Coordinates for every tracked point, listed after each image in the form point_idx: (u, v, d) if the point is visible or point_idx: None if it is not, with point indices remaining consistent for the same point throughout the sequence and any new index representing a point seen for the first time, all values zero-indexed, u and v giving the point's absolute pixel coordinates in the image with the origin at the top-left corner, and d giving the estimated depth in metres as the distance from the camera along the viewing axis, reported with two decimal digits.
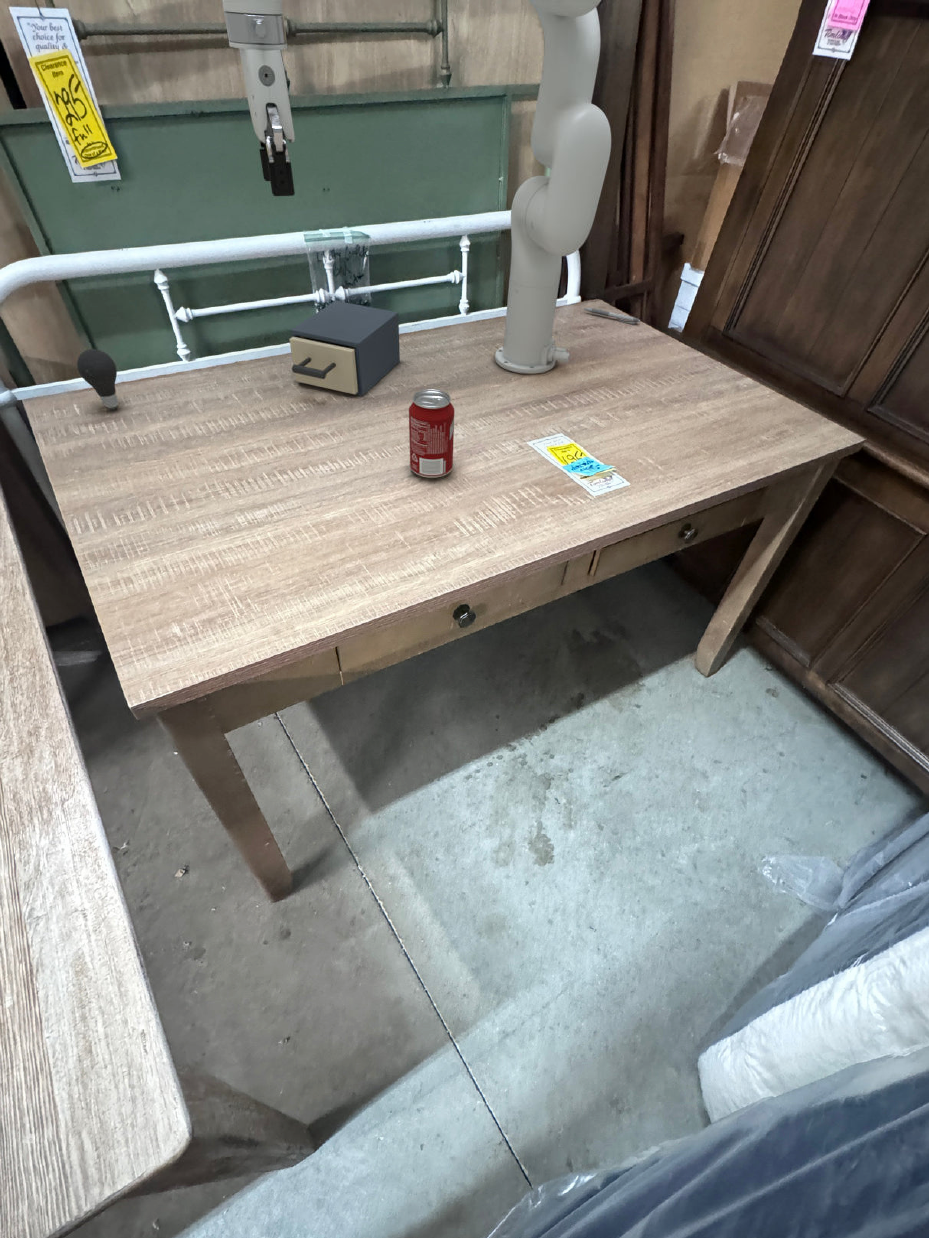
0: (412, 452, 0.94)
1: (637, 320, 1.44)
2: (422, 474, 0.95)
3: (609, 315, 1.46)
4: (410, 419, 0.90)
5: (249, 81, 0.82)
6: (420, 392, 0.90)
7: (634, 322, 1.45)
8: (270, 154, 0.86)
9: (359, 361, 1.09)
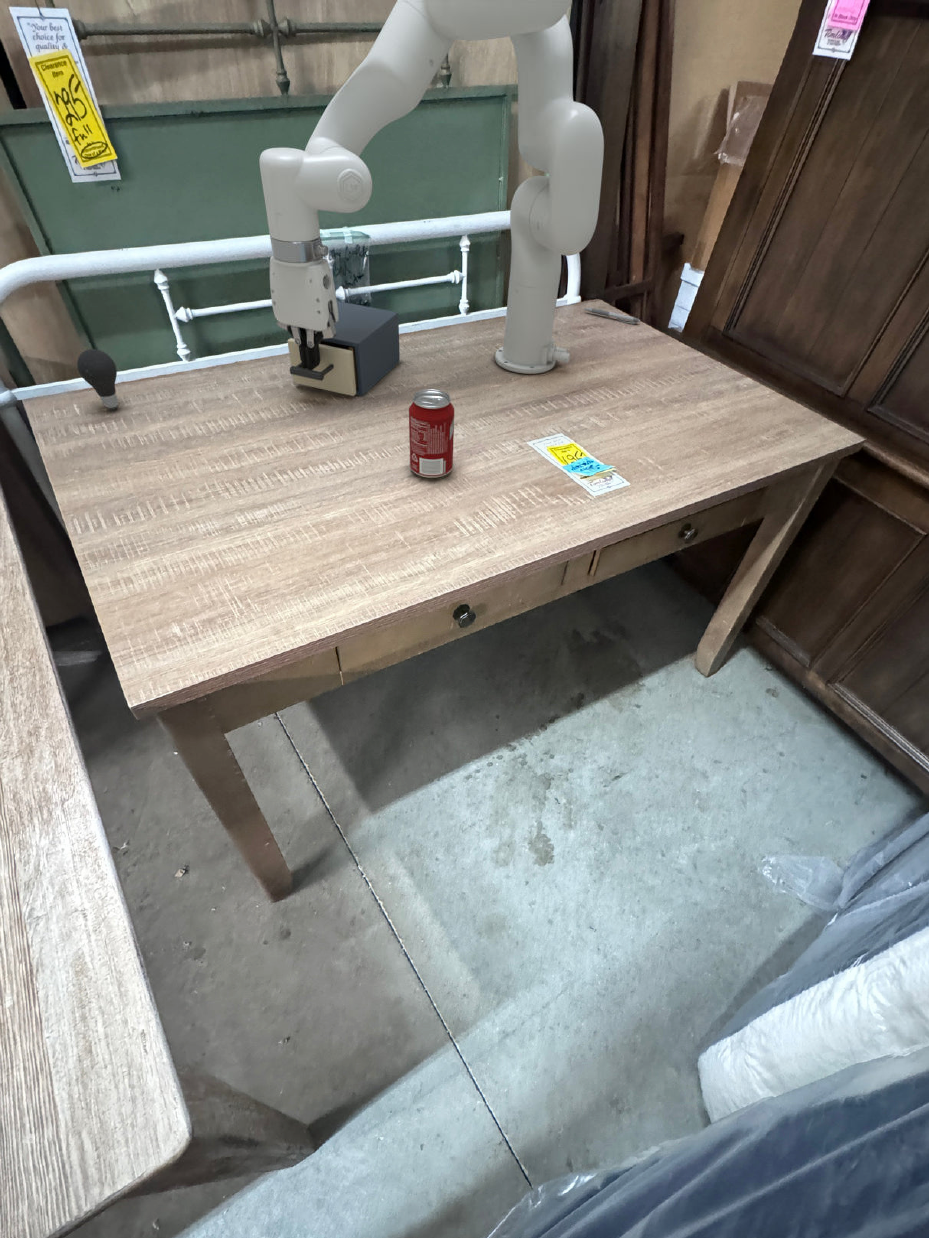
0: (412, 452, 0.94)
1: (637, 320, 1.44)
2: (422, 474, 0.95)
3: (609, 315, 1.46)
4: (410, 419, 0.90)
5: (312, 289, 0.96)
6: (420, 392, 0.90)
7: (634, 322, 1.45)
8: (314, 344, 1.03)
9: (359, 361, 1.09)
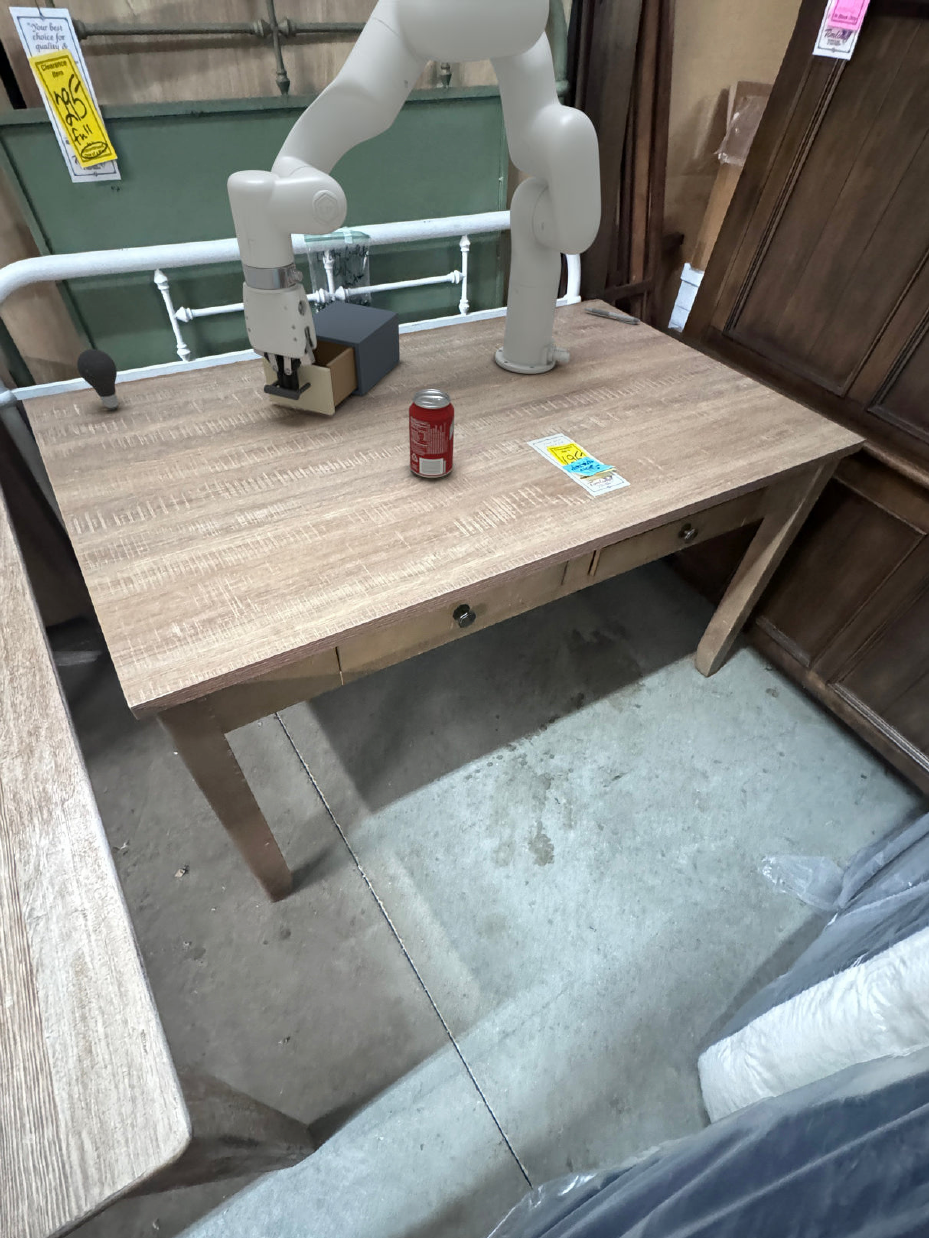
0: (412, 452, 0.94)
1: (637, 320, 1.44)
2: (422, 474, 0.95)
3: (609, 315, 1.46)
4: (410, 419, 0.90)
5: (287, 316, 0.92)
6: (420, 392, 0.90)
7: (634, 322, 1.45)
8: (291, 371, 0.99)
9: (359, 361, 1.09)
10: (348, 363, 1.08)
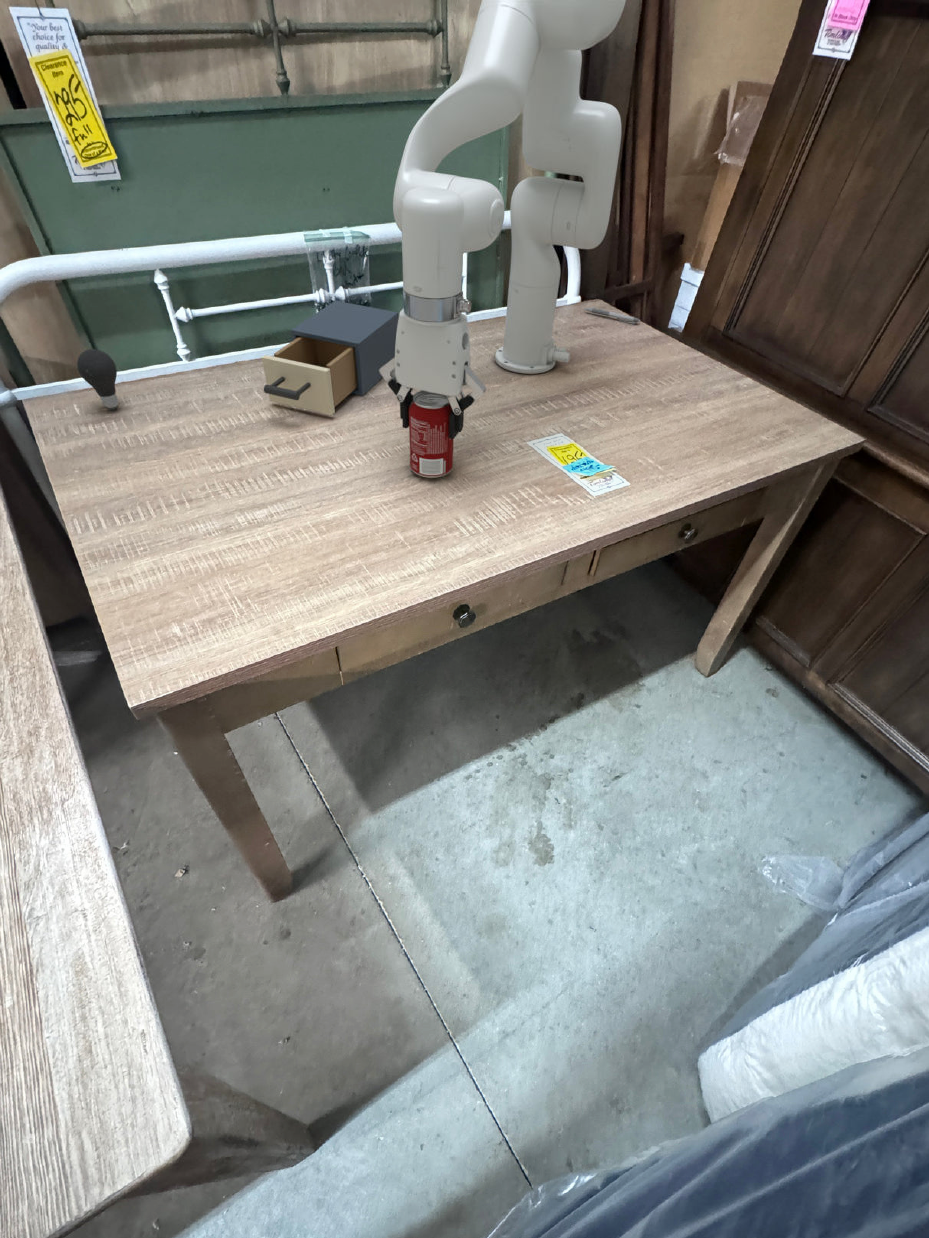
0: (412, 452, 0.94)
1: (637, 320, 1.44)
2: (422, 474, 0.95)
3: (609, 315, 1.46)
4: (410, 419, 0.90)
5: (449, 350, 0.81)
6: (420, 392, 0.90)
7: (634, 322, 1.45)
8: (460, 408, 0.87)
9: (359, 361, 1.09)
10: (348, 363, 1.08)
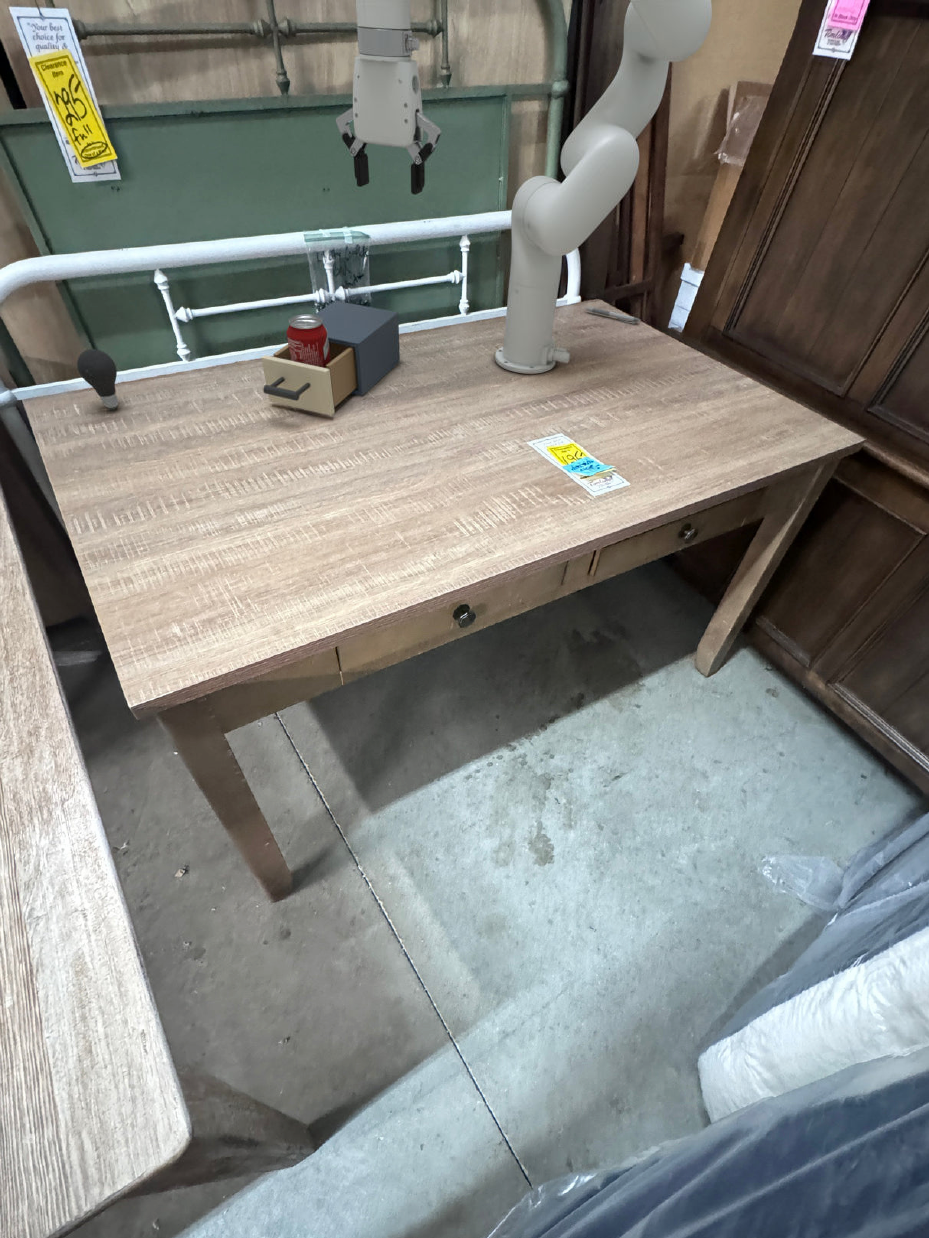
0: None
1: (637, 320, 1.44)
2: None
3: (609, 315, 1.46)
4: (288, 340, 1.03)
5: (401, 91, 0.89)
6: (297, 317, 1.03)
7: (634, 322, 1.45)
8: (420, 156, 0.94)
9: (359, 361, 1.09)
10: (348, 363, 1.08)
